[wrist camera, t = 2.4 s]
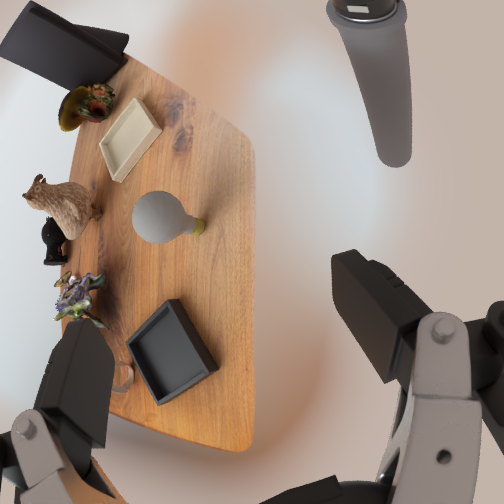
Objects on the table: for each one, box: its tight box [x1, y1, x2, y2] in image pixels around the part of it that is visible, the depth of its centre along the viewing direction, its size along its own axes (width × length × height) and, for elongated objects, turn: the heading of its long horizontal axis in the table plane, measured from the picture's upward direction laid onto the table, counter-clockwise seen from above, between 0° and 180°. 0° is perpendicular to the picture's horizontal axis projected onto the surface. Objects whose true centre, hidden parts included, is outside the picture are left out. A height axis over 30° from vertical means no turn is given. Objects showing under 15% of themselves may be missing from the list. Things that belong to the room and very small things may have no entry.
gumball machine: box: [42, 217, 67, 266], centre depth 51 cm, size 7×6×10 cm
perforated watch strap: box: [111, 361, 134, 394], centre depth 38 cm, size 3×5×5 cm, turn 171°
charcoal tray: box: [125, 299, 219, 406], centre depth 36 cm, size 11×10×2 cm
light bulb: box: [132, 191, 204, 244], centre depth 32 cm, size 5×5×10 cm
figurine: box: [22, 174, 103, 240], centre depth 41 cm, size 9×10×15 cm
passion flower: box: [53, 271, 109, 330], centre depth 41 cm, size 11×11×12 cm
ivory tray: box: [99, 97, 162, 183], centre depth 45 cm, size 11×11×2 cm
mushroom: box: [58, 82, 115, 132], centre depth 51 cm, size 12×12×15 cm
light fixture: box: [0, 1, 129, 95], centre depth 44 cm, size 17×21×30 cm
